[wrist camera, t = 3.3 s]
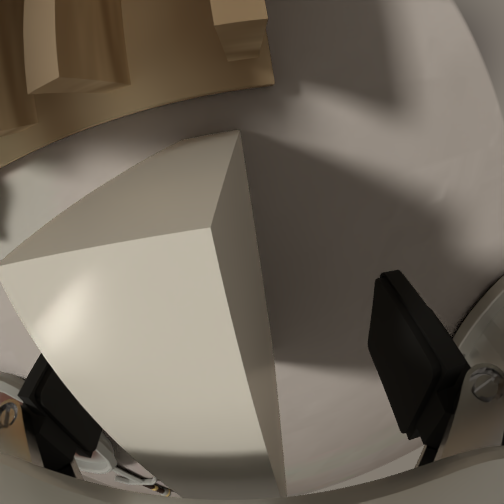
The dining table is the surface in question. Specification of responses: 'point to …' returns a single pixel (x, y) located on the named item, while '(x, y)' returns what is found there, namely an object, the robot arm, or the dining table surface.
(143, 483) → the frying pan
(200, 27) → the rack
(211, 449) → the white rectangular slab
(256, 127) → the dining table surface
